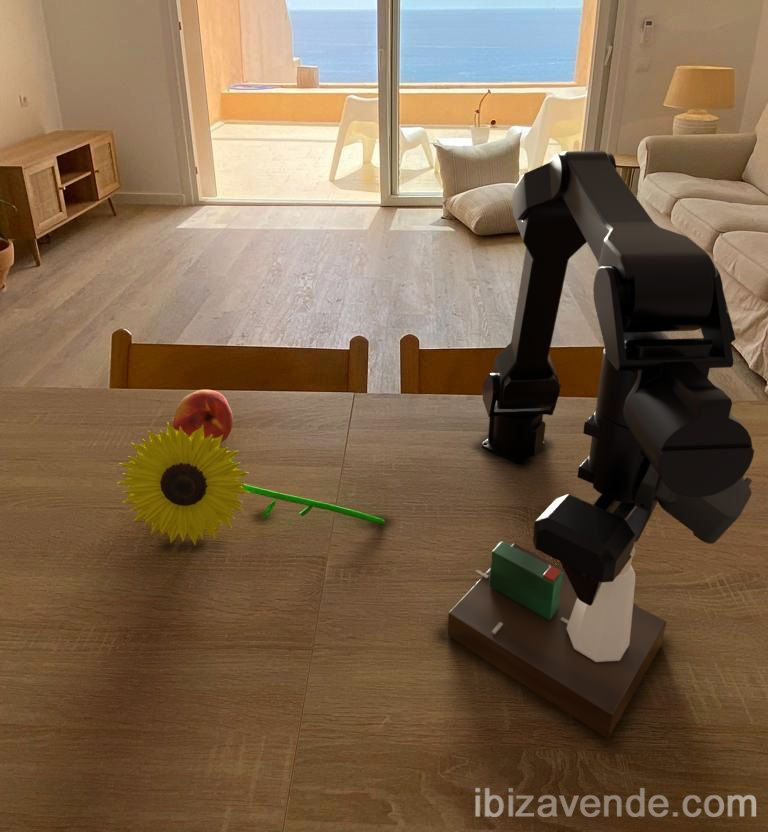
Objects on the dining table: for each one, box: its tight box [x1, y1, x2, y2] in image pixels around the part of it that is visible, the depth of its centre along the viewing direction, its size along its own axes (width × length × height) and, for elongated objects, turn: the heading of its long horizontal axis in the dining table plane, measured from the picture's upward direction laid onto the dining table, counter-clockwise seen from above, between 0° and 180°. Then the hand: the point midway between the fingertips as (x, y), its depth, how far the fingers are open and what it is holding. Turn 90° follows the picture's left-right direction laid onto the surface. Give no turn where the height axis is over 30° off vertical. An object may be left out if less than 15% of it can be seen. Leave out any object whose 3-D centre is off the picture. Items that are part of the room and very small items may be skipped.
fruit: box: [172, 389, 234, 444], centre depth 94 cm, size 8×8×8 cm
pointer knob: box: [490, 541, 563, 620], centre depth 65 cm, size 6×2×5 cm, turn 50°
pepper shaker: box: [566, 545, 636, 662], centre depth 60 cm, size 5×5×11 cm
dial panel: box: [447, 542, 667, 740], centre depth 65 cm, size 12×17×3 cm
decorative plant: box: [117, 421, 385, 546], centre depth 78 cm, size 15×6×30 cm
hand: (609, 569), depth 58 cm, fingers open, 9 cm apart
